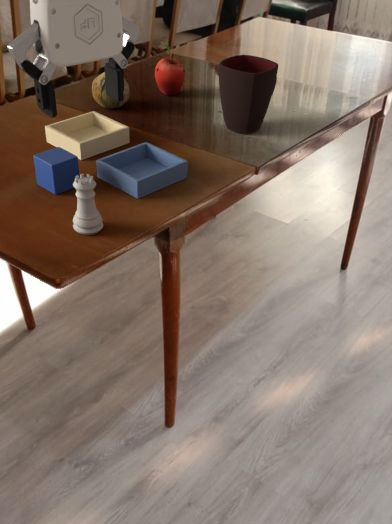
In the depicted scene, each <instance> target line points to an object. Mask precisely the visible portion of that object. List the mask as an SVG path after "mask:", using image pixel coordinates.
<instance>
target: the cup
mask: <svg viewBox="0 0 392 524" xmlns="http://www.w3.org/2000/svg"><path fill="white" fill-rule="evenodd" d="M278 71H279V64H278V63H277V62H275V61H273V60H270V59H268V58H265V57H260V56H256V55H251V54H238V55H237V54H236V55H233V56H229V57H226V58H224V59H222V60H221V61H220V62H219V63H218V89H219V90H218V91H219V97H220V105H221V111H222V116H223V120H224V124H225V127H226V129H228V130H229V131H231V132H234V133H237V134H241V135H246V136H247V135H251V134H253V133H256V132H258V131H259V130H260V129H261V127H262V124H263V122H264V119H265V117H266V114H267V112H268V109H269V107H270V103H271V100H272V97H273V94H274V92H275V89H276V86H277V81H278Z"/></svg>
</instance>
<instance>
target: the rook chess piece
mask: <svg viewBox="0 0 392 524" xmlns="http://www.w3.org/2000/svg"><path fill="white" fill-rule="evenodd" d="M79 176H80V178H79ZM79 176H78V175H77V176H76V177H75V181H74V183H73V186H74V188H73V189H75V190H76V191H75V197H76V201H77V203H76V211H75V213H74V215H73V218H72V223H73V224H72V228H73V230H74V231H75V232H77V233H78V234H80V235H83V236H92V235H96V234H98V233H100V231H102V229H104V223H103V217H102V215H101V213H100V212H99V210H98V208H97V204H96V201H95V196H96V192H95V191H94V189H95V188H96V186H97V182H96V181H95V180H94V176H93V175H90V174H89V173H86V176H85V175H84V173H79Z"/></svg>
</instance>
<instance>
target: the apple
mask: <svg viewBox="0 0 392 524" xmlns="http://www.w3.org/2000/svg"><path fill="white" fill-rule="evenodd" d="M156 44H157V45H164V47H165V48H166V49H167V52H169V55H170V57H163V58H161V59H160V60H159V61H158V62H157V64H156V66H155V69H154V79H155V82H156V85H157V88H158V89H159V91H160V92H161V94H163V95H165V96H174V95H178V94H179V93H180V91H181V89H182V86H183V85H184V82H185V73H186V72H185V67H184V65H183V64H182V62H180V61H179V60H178V59H176V58H173V57H174V55H175V53H174V52H173V51H171V48H170V45H169V44H168V43H165V42H163V41H157V42H156Z"/></svg>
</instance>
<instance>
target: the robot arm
mask: <svg viewBox="0 0 392 524" xmlns="http://www.w3.org/2000/svg"><path fill="white" fill-rule="evenodd" d="M121 9H122V8H121V0H29V16H30V25H29V26H28V27H27V28H25V29H24V30H23V31H22V32H21V33H20V34H18V35H17V36H16V37H15V38H14V39H12V40H11V41H10V42H9V43H8V44H7V47H6V48H7V51H8V52H9V54H10V55H11V57H12V58H13V60H14V62H16V64H17V67H18V68H19V69H20V70H22V71H23V72H24V73H25V74H27V76H29V78H30V79H32V80H33V83H34V85H33V86H34V92H35V99H36V105H37V107H38V108H39V110H40V112H42V113H44V114H45V115H47V116H48V117H49V118H51V119H52V118H53V119H54V118H56V117H57V116H58V108H57V99H56V91H55V89H56V88H55V85H54V84H53V82H50V80H51V79H52V77H53V74H54V73H55V71H56V70H57V67H60V68H64V67H73V66H77V65H84V64H88V63H93V62H97V61H103V60H107V61H108V62H105V63H104V72H105V84H106V94H107V96H109V97H111V98H113V99H115V100H116V101H118V102H121V101H123V100H124V97H123V91H124V79H125V70H124V69H126V68H127V67H128V61H129V59H130V57H131V56H132V55H133V53H134V51H135V48H136V46H135V44H136V43H137V40H138V37H139V34H140V32H141V27H140V25H138V24H136V23H134V22H133V21H131V20H129V19H127V18H125V17H123V16H122V10H121ZM32 46H33V49H34V53H35V55H36V57H35V59H34V60H33V62H32V61H30V59H29V57H28V55H27V51H28V49H30V48H31V47H32Z"/></svg>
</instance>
